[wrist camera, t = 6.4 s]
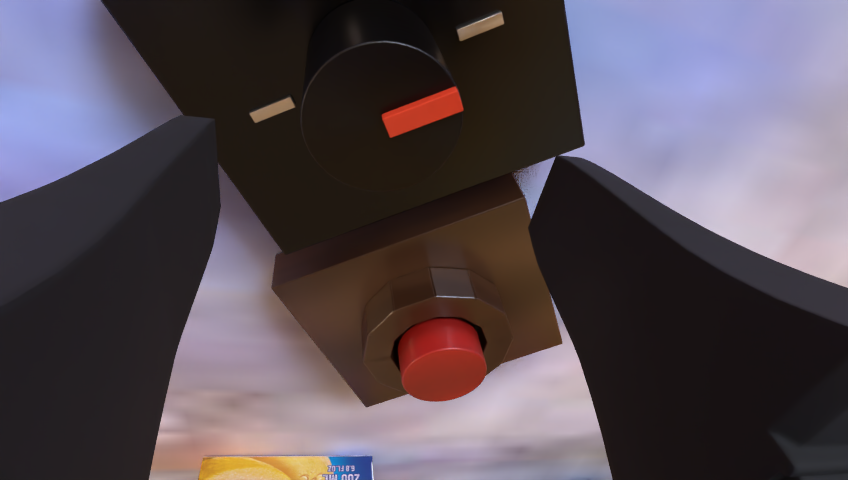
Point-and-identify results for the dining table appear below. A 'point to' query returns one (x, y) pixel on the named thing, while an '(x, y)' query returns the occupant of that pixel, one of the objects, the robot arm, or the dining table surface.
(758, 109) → the dining table surface
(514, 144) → the dial panel
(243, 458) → the beverage box
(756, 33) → the dining table surface
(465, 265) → the switch block
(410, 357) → the power button
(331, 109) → the timer dial
